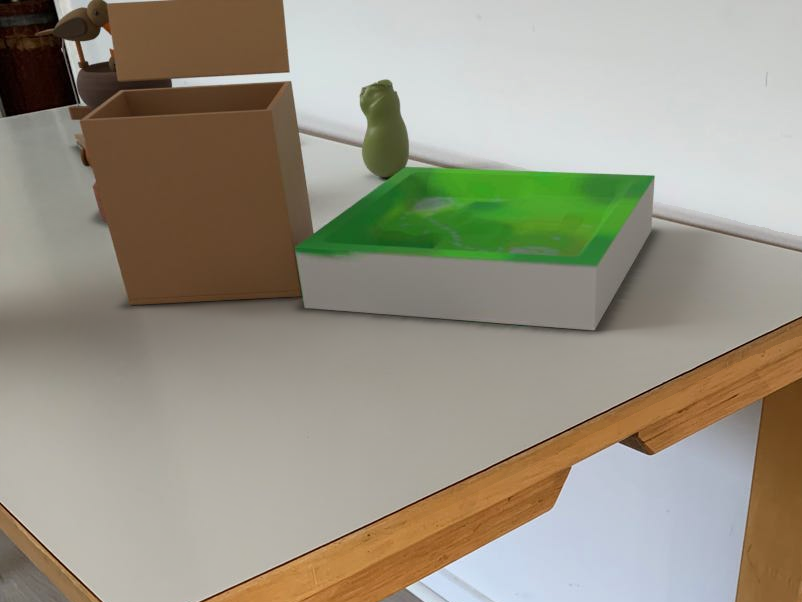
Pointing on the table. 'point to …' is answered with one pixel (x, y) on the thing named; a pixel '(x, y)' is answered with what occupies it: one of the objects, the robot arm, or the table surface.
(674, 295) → the table surface
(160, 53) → the flap
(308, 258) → the green flat square box
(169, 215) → the carton
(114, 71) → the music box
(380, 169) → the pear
